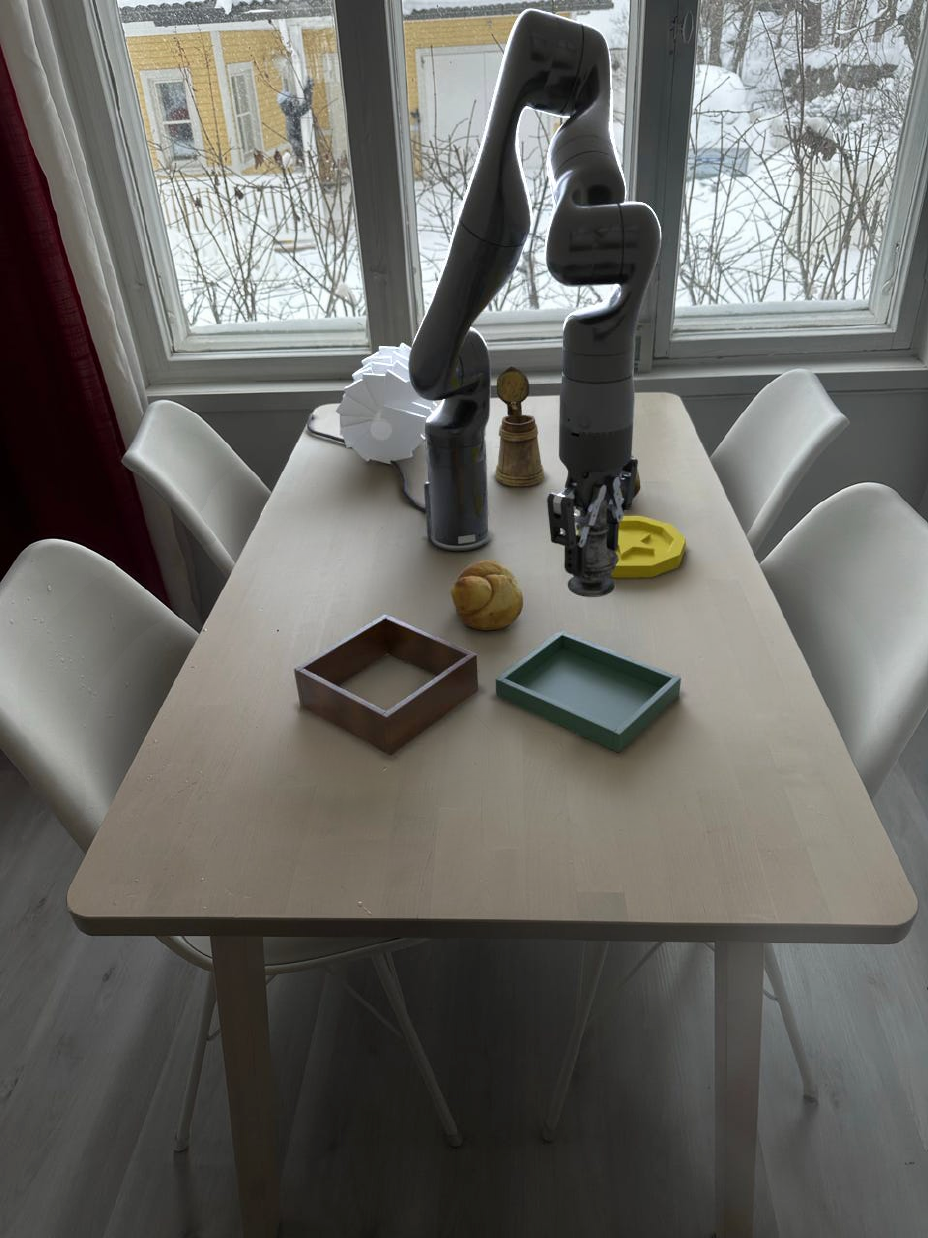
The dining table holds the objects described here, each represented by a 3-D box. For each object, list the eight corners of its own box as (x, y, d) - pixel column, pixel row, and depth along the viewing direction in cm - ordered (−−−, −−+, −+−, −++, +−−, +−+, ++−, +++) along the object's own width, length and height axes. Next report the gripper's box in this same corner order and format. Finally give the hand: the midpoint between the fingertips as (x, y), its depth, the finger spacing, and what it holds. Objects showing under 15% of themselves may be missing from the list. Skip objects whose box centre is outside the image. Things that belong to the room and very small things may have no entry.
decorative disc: (608, 517, 154) (608, 506, 153) (704, 545, 144) (705, 534, 143) (550, 556, 143) (550, 545, 142) (650, 589, 134) (650, 577, 133)
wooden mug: (535, 457, 178) (535, 364, 169) (548, 484, 167) (548, 386, 157) (489, 460, 178) (487, 367, 168) (499, 488, 166) (496, 390, 157)
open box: (299, 705, 113) (293, 668, 111) (388, 648, 123) (385, 613, 120) (390, 756, 105) (386, 717, 102) (478, 690, 114) (477, 653, 112)
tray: (495, 696, 113) (495, 679, 112) (560, 646, 122) (560, 630, 121) (618, 753, 103) (619, 734, 102) (679, 695, 112) (681, 677, 111)
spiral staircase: (364, 488, 179) (382, 435, 199) (443, 451, 173) (454, 400, 194) (312, 408, 170) (337, 361, 191) (394, 365, 164) (411, 322, 185)
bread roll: (455, 590, 136) (453, 541, 132) (522, 588, 135) (521, 539, 131) (451, 637, 125) (448, 586, 121) (523, 636, 124) (523, 584, 120)
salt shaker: (615, 600, 102) (620, 500, 95) (562, 596, 103) (563, 497, 96) (618, 574, 106) (623, 477, 100) (567, 571, 108) (569, 475, 101)
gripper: (604, 390, 101) (598, 529, 110) (524, 430, 92) (525, 578, 101) (664, 403, 97) (654, 546, 105) (587, 445, 87) (583, 598, 96)
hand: (591, 561), depth 103 cm, fingers closed on salt shaker, 6 cm apart
